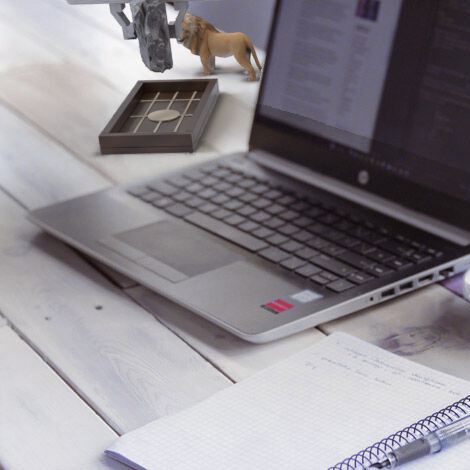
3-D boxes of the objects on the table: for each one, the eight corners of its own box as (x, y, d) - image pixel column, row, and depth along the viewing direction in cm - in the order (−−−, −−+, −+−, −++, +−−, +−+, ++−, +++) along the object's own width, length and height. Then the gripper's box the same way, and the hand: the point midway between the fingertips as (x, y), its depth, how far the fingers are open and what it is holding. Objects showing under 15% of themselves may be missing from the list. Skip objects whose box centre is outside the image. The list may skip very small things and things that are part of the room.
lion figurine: (172, 78, 139) (165, 17, 135) (189, 68, 143) (182, 8, 139) (265, 85, 135) (260, 22, 131) (279, 74, 139) (275, 12, 135)
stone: (140, 51, 124) (129, -27, 120) (175, 48, 125) (165, -29, 121) (135, 87, 111) (123, 1, 106) (175, 83, 112) (164, -2, 107)
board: (101, 157, 113) (97, 136, 111) (140, 99, 131) (137, 80, 130) (193, 155, 112) (191, 134, 111) (219, 97, 131) (217, 78, 130)
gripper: (41, -72, 108) (62, 47, 114) (220, -78, 107) (232, 42, 113) (58, -81, 113) (77, 33, 120) (228, -87, 112) (239, 28, 119)
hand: (154, 38), depth 116 cm, fingers closed on stone, 4 cm apart
